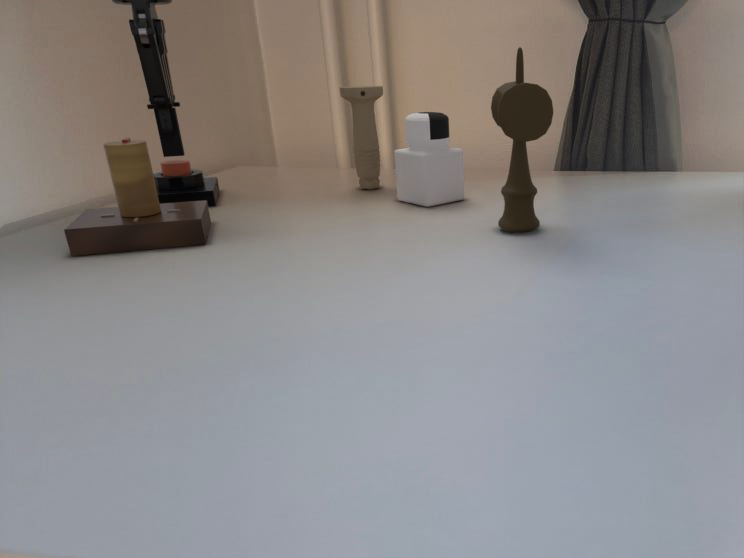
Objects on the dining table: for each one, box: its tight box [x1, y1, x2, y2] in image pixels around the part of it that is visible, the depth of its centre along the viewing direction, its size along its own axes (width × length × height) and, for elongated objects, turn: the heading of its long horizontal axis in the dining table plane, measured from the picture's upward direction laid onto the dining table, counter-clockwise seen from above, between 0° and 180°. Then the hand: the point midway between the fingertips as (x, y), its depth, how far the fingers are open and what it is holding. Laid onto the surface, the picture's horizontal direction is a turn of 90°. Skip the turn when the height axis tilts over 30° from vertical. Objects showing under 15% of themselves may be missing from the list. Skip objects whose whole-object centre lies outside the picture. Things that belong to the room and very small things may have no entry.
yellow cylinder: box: [103, 137, 161, 217], centre depth 78 cm, size 4×4×8 cm
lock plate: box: [63, 200, 212, 257], centre depth 80 cm, size 14×11×3 cm
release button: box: [159, 159, 192, 176], centre depth 100 cm, size 4×4×2 cm
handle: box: [339, 85, 384, 191], centre depth 105 cm, size 5×6×15 cm
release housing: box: [153, 169, 221, 207], centre depth 101 cm, size 10×12×4 cm
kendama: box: [490, 46, 554, 233], centre depth 77 cm, size 6×10×20 cm, turn 6°
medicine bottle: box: [393, 111, 465, 208], centre depth 96 cm, size 7×7×12 cm
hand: (174, 155), depth 99 cm, fingers closed
